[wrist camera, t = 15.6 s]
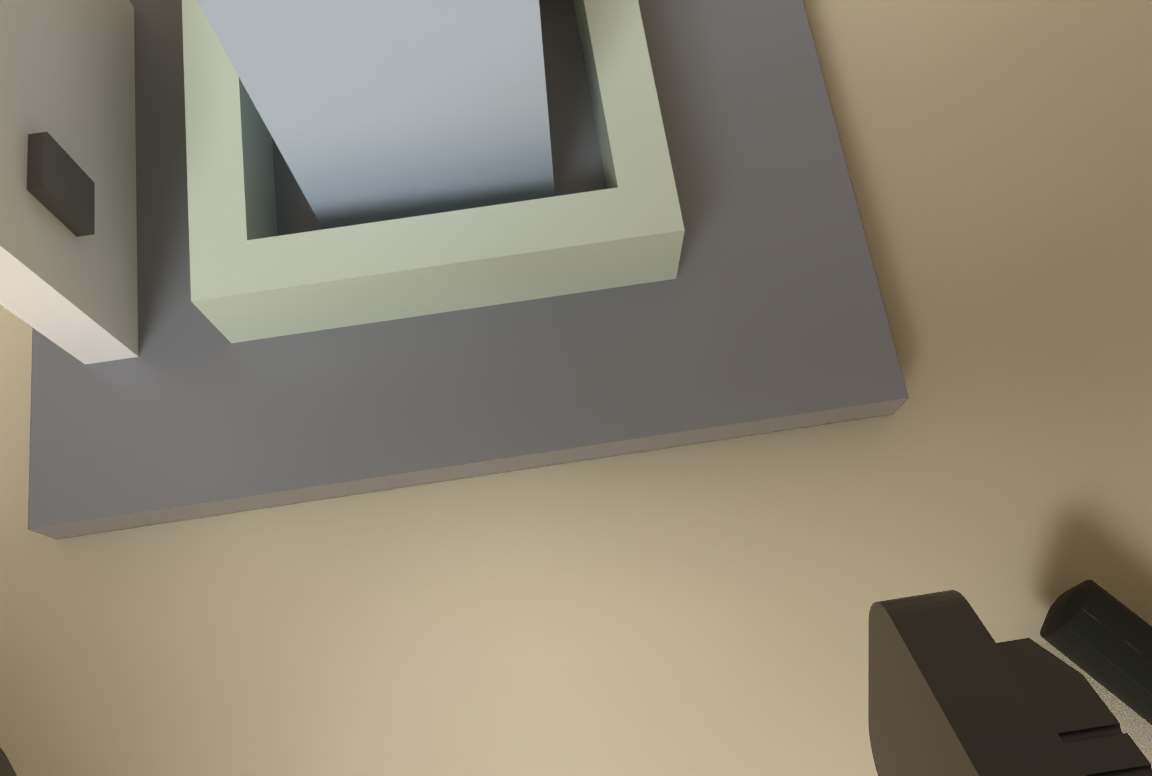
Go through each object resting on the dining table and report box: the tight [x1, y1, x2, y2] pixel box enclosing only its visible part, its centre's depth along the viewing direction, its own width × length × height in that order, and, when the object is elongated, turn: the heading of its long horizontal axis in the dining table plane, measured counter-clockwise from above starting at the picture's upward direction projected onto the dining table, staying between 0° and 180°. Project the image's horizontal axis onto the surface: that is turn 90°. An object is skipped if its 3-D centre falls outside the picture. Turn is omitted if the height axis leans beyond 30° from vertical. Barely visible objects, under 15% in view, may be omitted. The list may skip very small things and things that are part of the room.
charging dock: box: [0, 0, 908, 539], centre depth 19 cm, size 16×14×6 cm
